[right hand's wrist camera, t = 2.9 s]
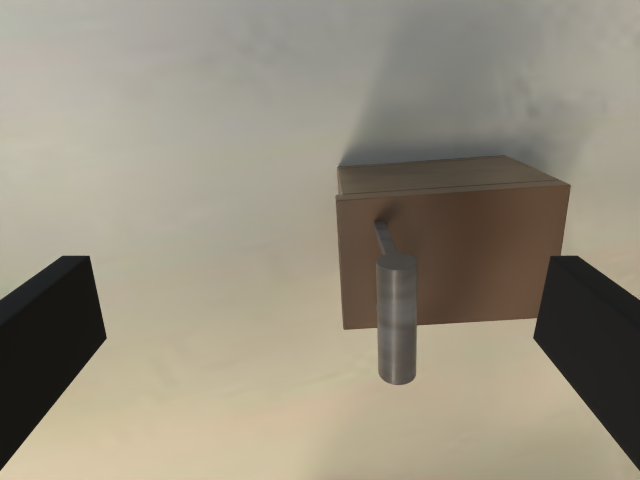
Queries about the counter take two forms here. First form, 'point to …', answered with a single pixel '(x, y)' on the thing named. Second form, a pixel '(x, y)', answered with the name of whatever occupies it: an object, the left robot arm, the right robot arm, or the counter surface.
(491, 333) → the counter surface
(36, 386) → the right robot arm
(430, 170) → the chest
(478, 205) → the lid
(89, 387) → the counter surface
